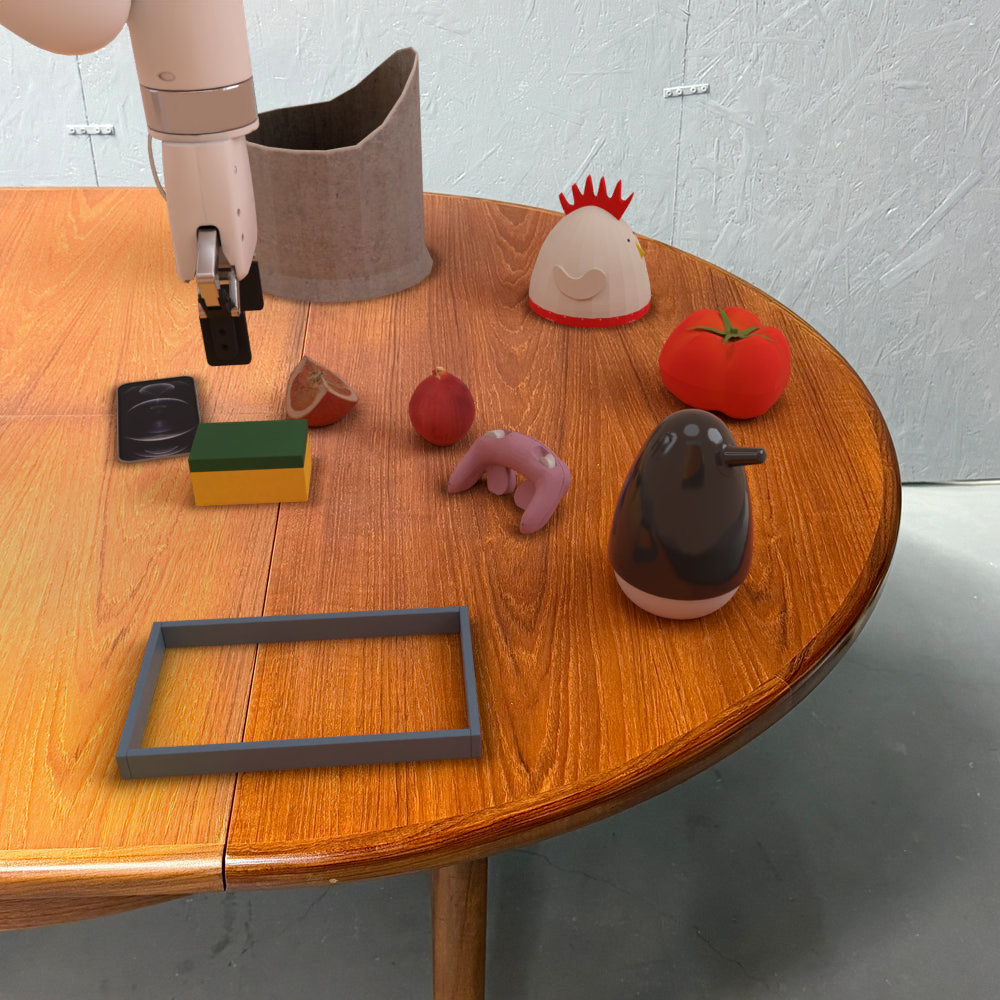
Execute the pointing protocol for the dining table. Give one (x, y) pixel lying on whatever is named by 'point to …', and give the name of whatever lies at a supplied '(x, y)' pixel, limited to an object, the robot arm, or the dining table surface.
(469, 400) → the onion
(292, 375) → the fruit slice
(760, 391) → the tomato
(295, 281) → the pitcher
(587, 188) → the kitchen timer
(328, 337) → the dining table surface
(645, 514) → the pump dispenser
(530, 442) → the video game controller
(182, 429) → the smartphone
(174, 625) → the rectangular frame
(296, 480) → the sponge
